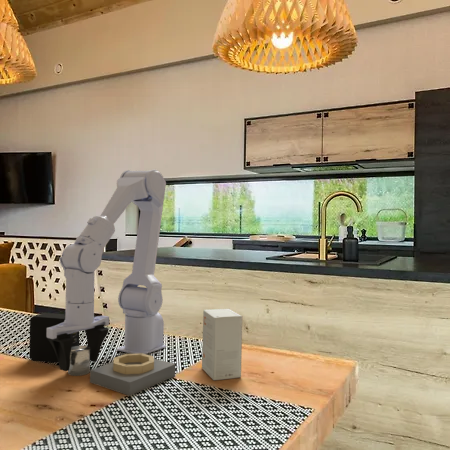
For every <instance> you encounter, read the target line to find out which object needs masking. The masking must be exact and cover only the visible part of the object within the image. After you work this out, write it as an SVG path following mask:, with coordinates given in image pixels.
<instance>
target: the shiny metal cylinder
mask: <svg viewBox="0 0 450 450" xmlns="http://www.w3.org/2000/svg"><path fill="white" fill-rule="evenodd" d="M90 370H91V361H90V347H88V345H79V346H74V347H72V348H71V354H70V368H69V371H67V375H69V376H72V377H80V376H86V375H88V374H90Z"/></svg>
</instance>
